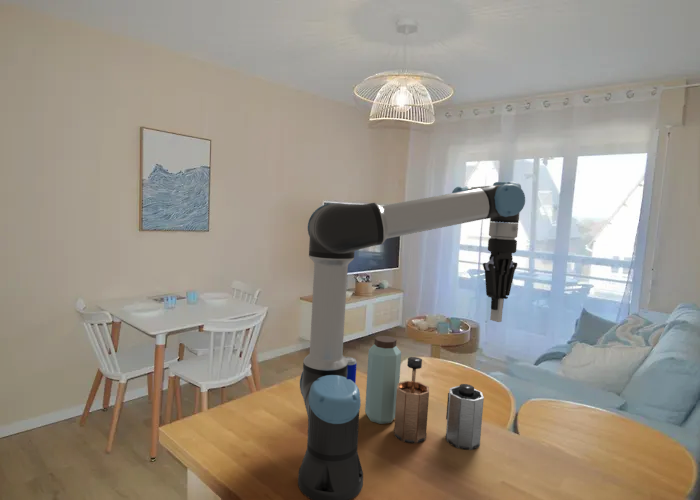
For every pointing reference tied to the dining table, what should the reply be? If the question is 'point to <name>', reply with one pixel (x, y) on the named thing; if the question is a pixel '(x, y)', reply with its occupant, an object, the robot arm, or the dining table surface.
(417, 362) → the copper press plunger
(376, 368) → the water bottle
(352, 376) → the beverage can
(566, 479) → the dining table surface
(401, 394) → the copper press
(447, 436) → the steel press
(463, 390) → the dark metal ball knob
